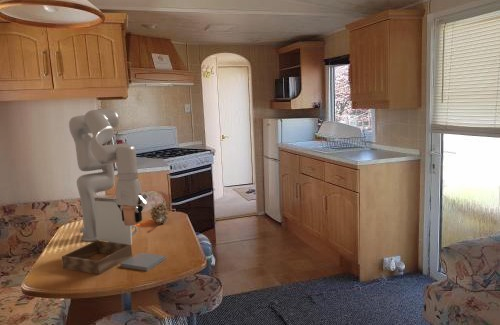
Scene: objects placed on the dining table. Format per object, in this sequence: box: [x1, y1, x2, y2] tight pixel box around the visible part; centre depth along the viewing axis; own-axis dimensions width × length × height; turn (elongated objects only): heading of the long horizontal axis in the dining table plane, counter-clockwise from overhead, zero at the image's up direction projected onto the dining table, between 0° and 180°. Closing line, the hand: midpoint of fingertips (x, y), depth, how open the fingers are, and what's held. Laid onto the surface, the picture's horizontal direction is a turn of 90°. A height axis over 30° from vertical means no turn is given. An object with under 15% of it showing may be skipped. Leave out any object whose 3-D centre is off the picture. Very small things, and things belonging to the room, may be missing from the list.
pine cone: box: [150, 203, 169, 225], centre depth 216 cm, size 22×10×10 cm, turn 14°
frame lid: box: [95, 196, 133, 245], centre depth 176 cm, size 19×19×1 cm
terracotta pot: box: [122, 205, 141, 226], centre depth 163 cm, size 7×7×12 cm
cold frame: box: [61, 240, 133, 275], centre depth 169 cm, size 19×19×5 cm
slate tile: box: [119, 252, 166, 272], centre depth 166 cm, size 13×12×2 cm
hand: (132, 220), depth 163 cm, fingers closed on terracotta pot, 6 cm apart
